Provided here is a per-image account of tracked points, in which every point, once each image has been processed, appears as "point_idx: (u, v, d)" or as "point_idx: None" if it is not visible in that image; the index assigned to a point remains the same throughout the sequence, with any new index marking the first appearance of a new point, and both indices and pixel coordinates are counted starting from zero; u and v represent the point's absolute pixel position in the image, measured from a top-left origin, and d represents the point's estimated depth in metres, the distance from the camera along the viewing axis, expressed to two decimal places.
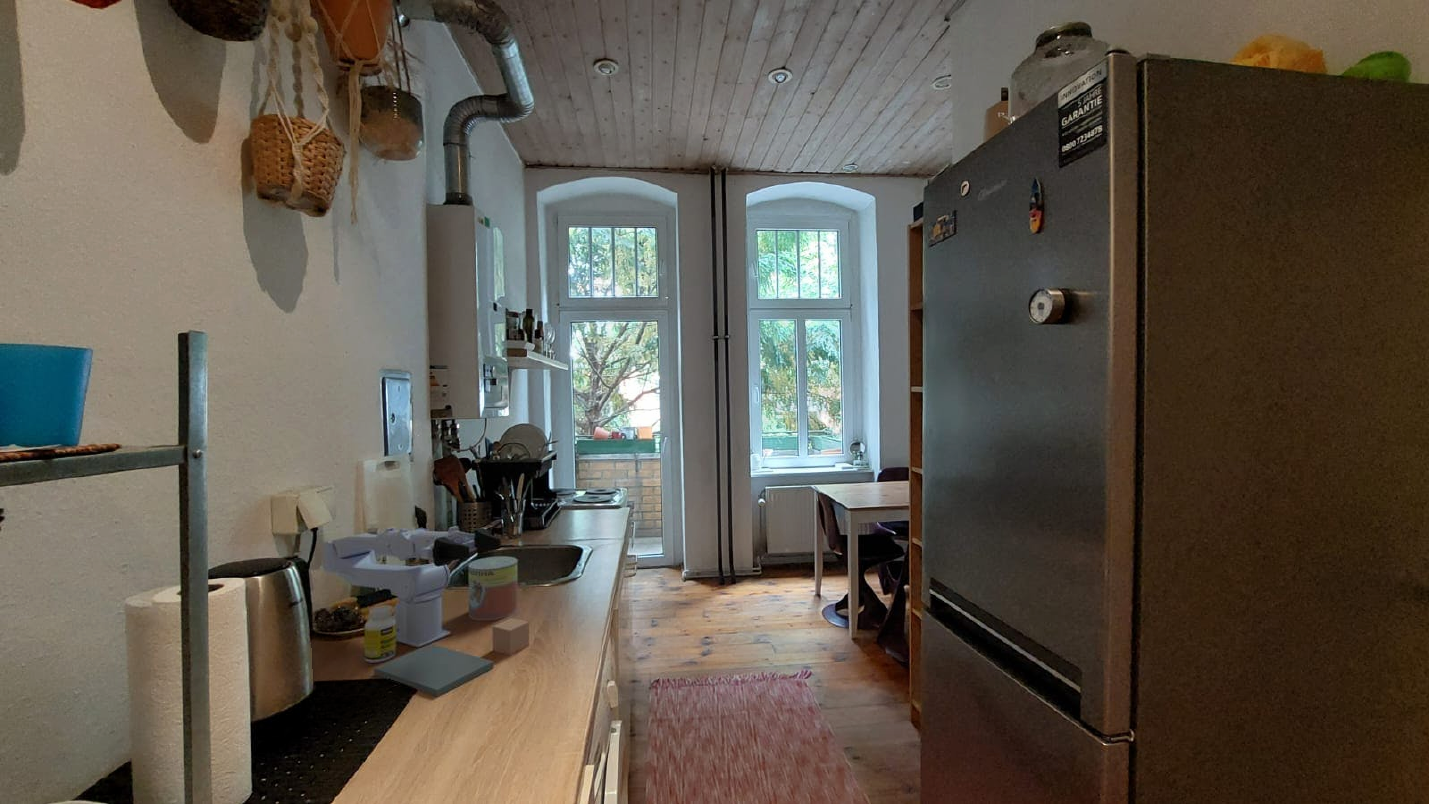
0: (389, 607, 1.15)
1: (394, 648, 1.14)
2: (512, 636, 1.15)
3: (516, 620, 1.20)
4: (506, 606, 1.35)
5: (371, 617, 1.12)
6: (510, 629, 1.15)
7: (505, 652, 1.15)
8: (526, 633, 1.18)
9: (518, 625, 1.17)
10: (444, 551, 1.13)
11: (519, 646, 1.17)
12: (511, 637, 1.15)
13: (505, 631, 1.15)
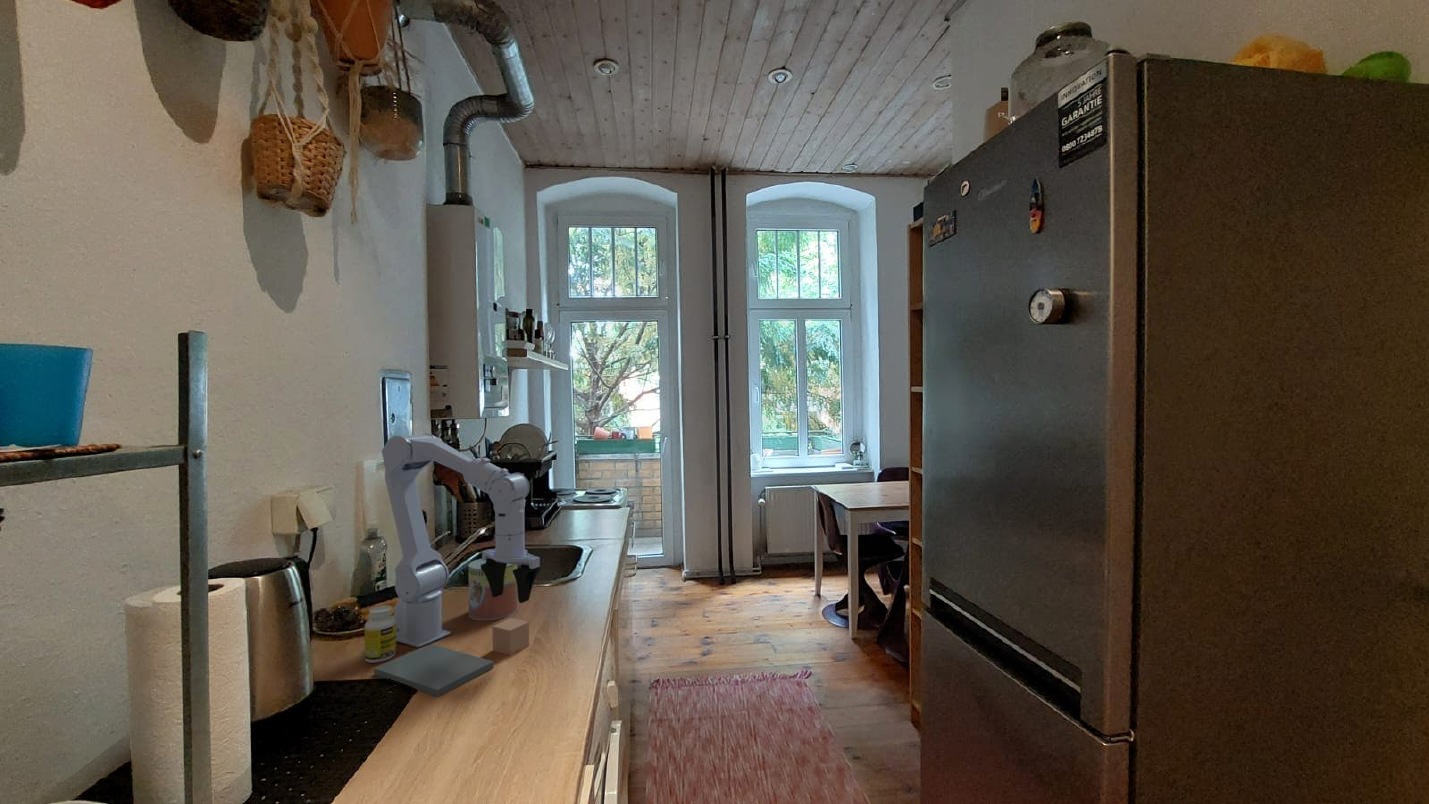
0: (389, 607, 1.15)
1: (393, 648, 1.14)
2: (512, 636, 1.15)
3: (516, 620, 1.20)
4: (506, 606, 1.35)
5: (371, 617, 1.12)
6: (510, 629, 1.15)
7: (505, 652, 1.15)
8: (526, 633, 1.18)
9: (518, 625, 1.17)
10: None
11: (519, 646, 1.17)
12: (511, 637, 1.15)
13: (505, 631, 1.15)
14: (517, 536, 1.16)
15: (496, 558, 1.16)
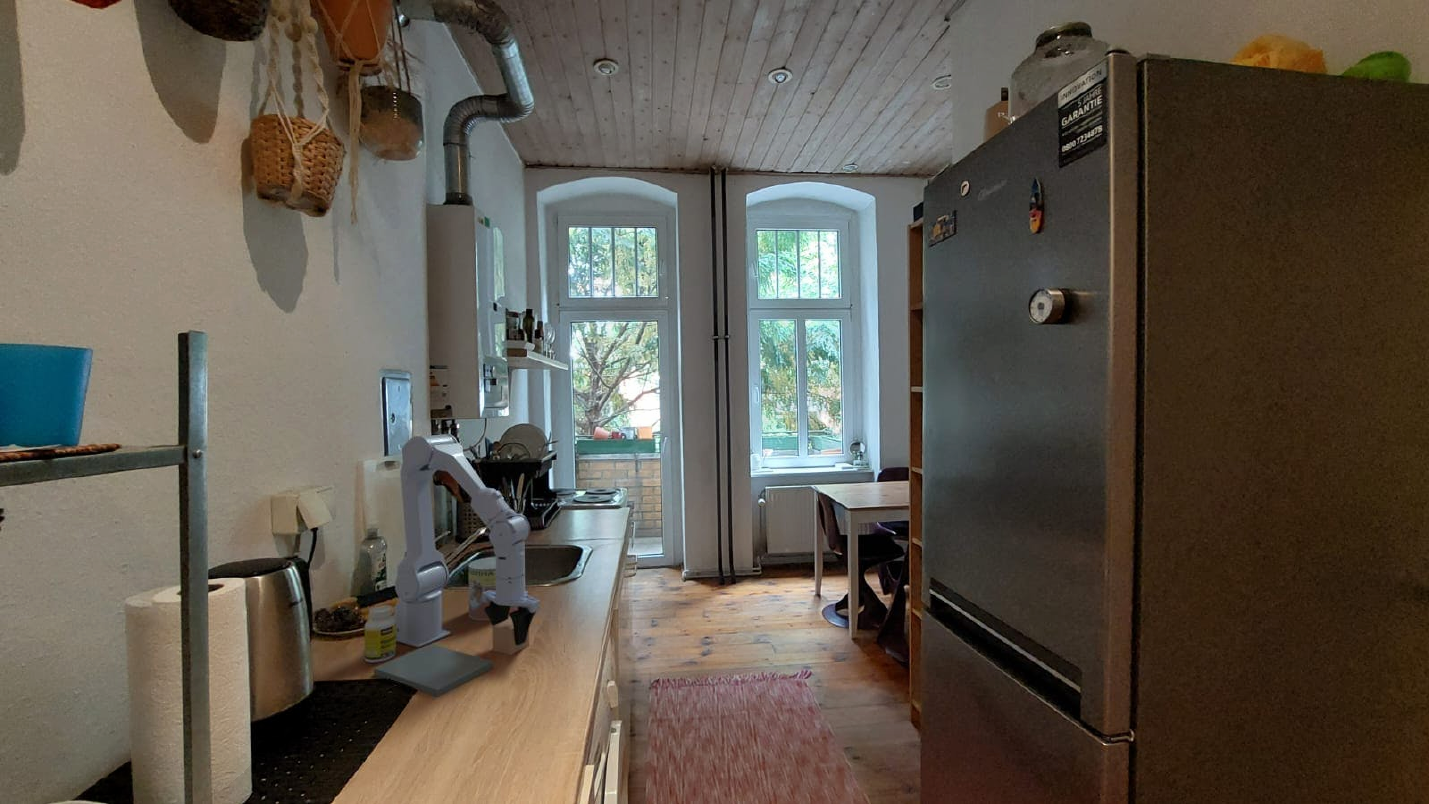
0: (389, 607, 1.15)
1: (393, 648, 1.14)
2: (512, 635, 1.15)
3: None
4: None
5: (371, 617, 1.12)
6: (510, 628, 1.15)
7: (505, 651, 1.15)
8: None
9: None
10: None
11: (519, 645, 1.17)
12: (511, 636, 1.15)
13: (505, 631, 1.15)
14: (517, 579, 1.16)
15: (496, 601, 1.16)
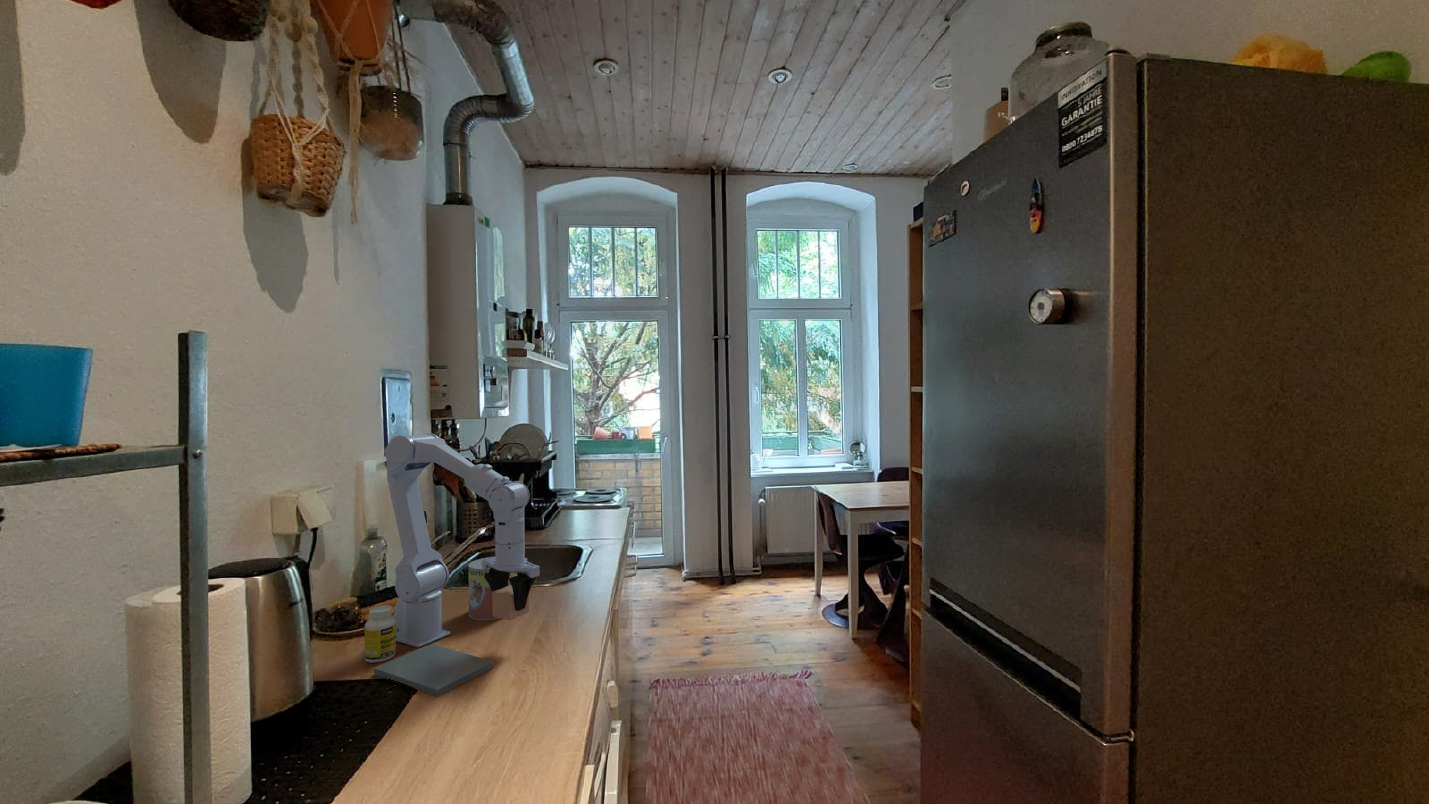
0: (389, 607, 1.15)
1: (393, 648, 1.14)
2: (512, 601, 1.15)
3: None
4: None
5: (371, 617, 1.12)
6: (510, 594, 1.15)
7: (505, 617, 1.15)
8: None
9: None
10: None
11: (519, 611, 1.17)
12: (511, 602, 1.15)
13: (504, 596, 1.15)
14: (517, 545, 1.16)
15: (496, 567, 1.16)
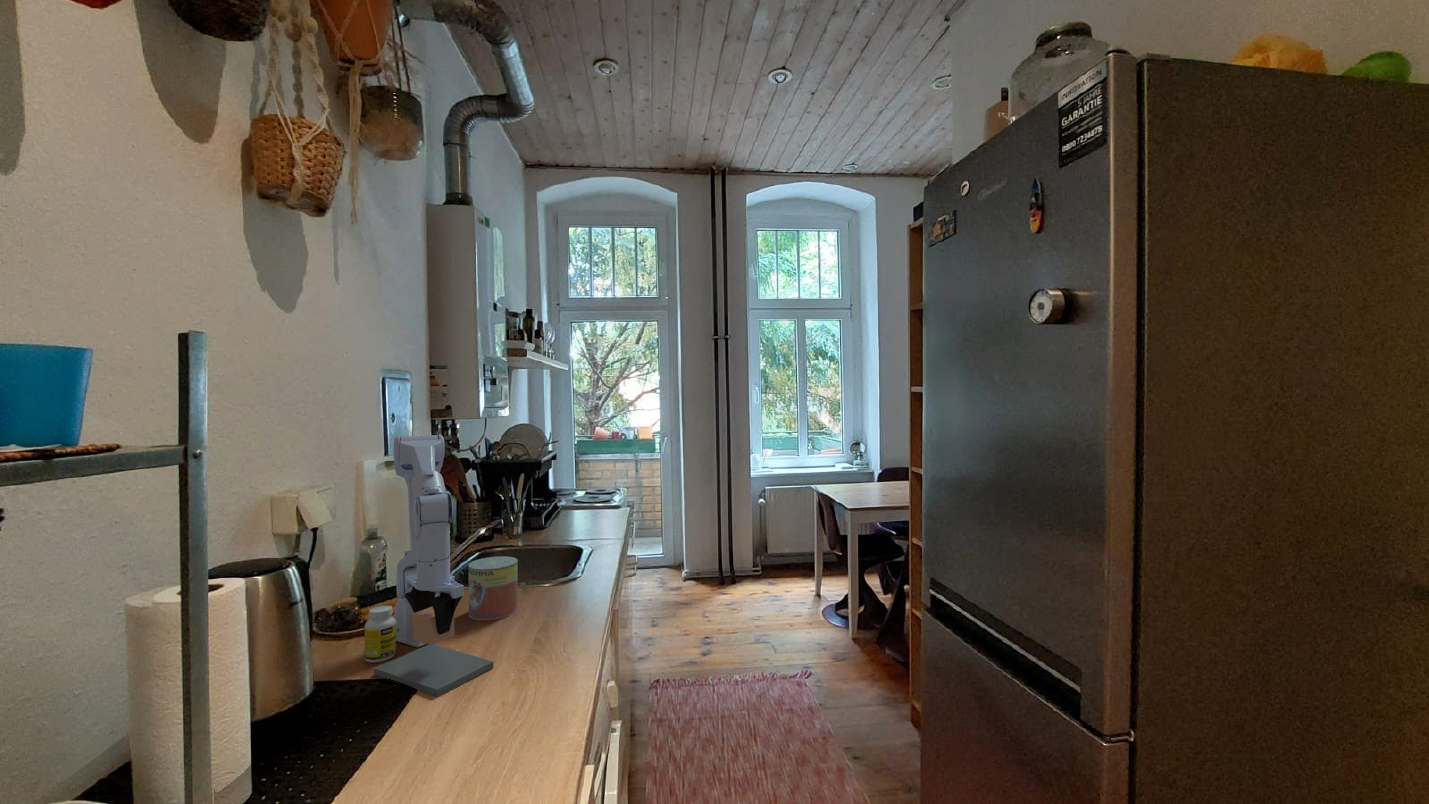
0: (389, 607, 1.15)
1: (394, 648, 1.14)
2: (433, 623, 1.05)
3: None
4: (506, 606, 1.35)
5: (371, 617, 1.12)
6: (431, 616, 1.05)
7: (425, 641, 1.05)
8: None
9: None
10: None
11: (442, 635, 1.07)
12: (432, 625, 1.05)
13: (425, 619, 1.05)
14: (440, 562, 1.06)
15: (416, 586, 1.06)
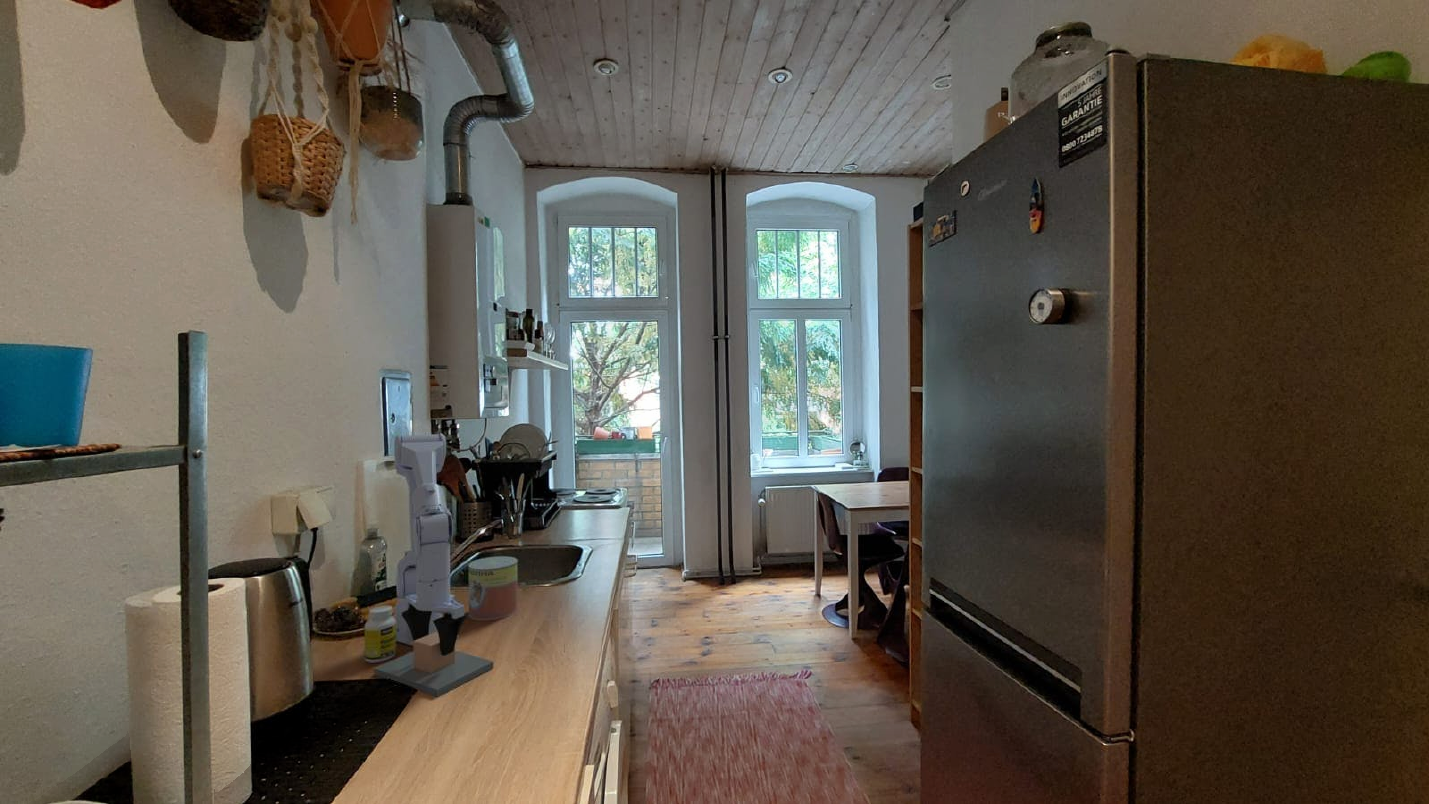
0: (389, 607, 1.15)
1: (393, 648, 1.14)
2: (434, 652, 1.05)
3: None
4: (506, 606, 1.35)
5: (371, 617, 1.12)
6: (431, 644, 1.05)
7: (426, 669, 1.05)
8: None
9: None
10: None
11: (442, 663, 1.07)
12: (433, 653, 1.05)
13: (426, 647, 1.05)
14: (440, 582, 1.06)
15: (417, 606, 1.06)
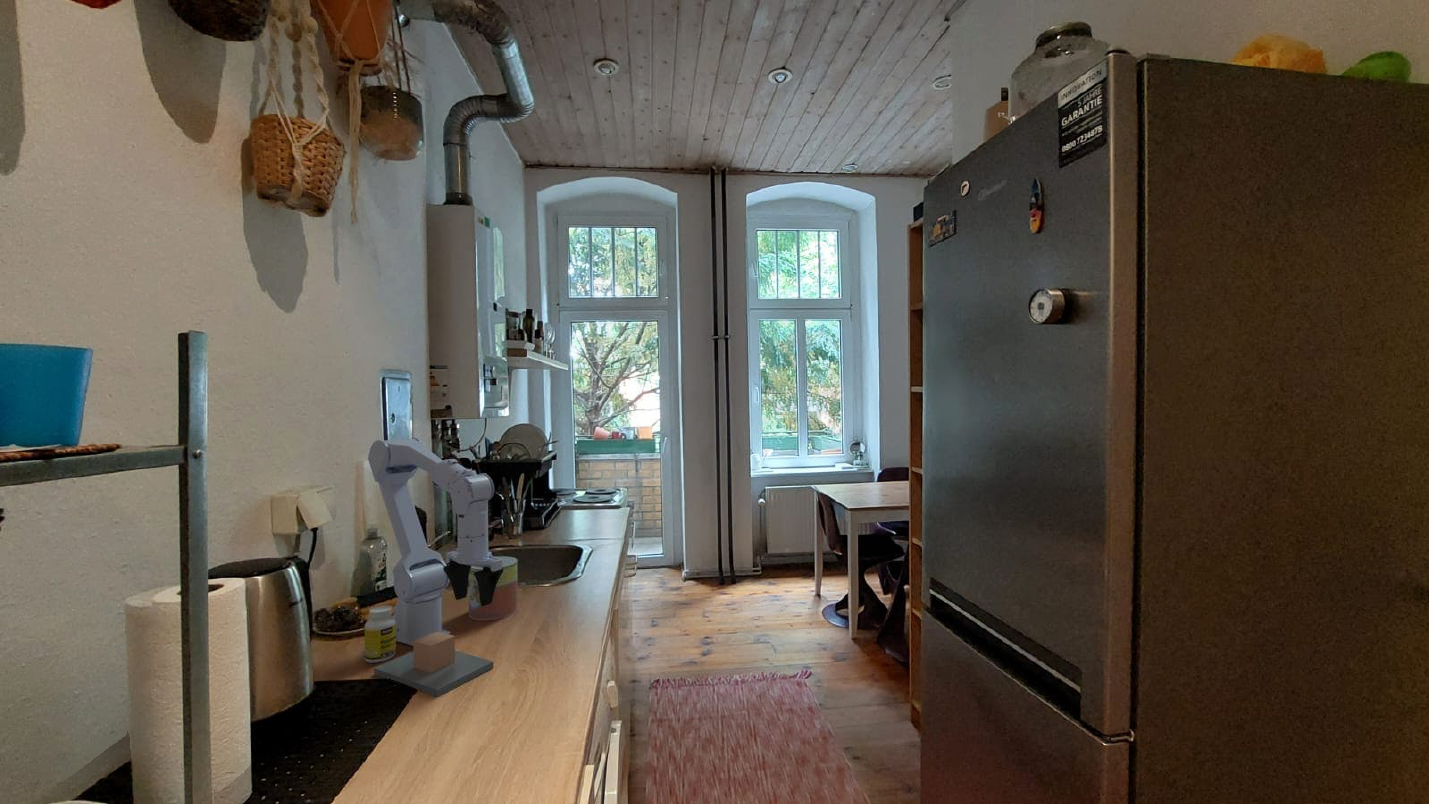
0: (389, 607, 1.15)
1: (393, 648, 1.14)
2: (434, 652, 1.05)
3: (441, 634, 1.10)
4: (506, 606, 1.35)
5: (371, 617, 1.12)
6: (431, 644, 1.05)
7: (426, 669, 1.05)
8: (451, 648, 1.08)
9: (441, 639, 1.07)
10: None
11: (442, 663, 1.07)
12: (433, 653, 1.05)
13: (426, 647, 1.05)
14: (479, 538, 1.14)
15: (458, 560, 1.14)
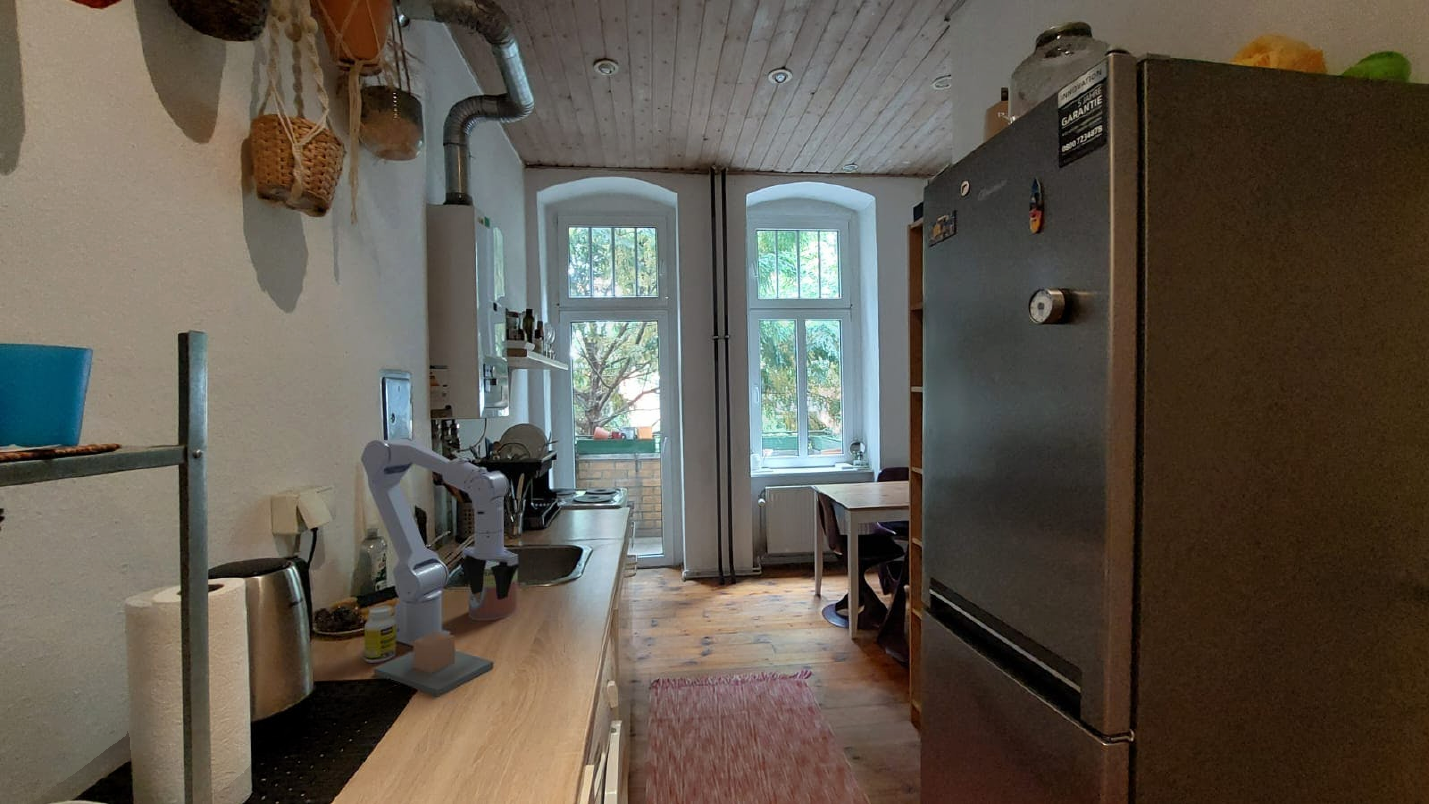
0: (389, 607, 1.15)
1: (393, 648, 1.14)
2: (434, 652, 1.05)
3: (441, 634, 1.10)
4: (506, 606, 1.35)
5: (371, 617, 1.12)
6: (431, 644, 1.05)
7: (426, 669, 1.05)
8: (451, 648, 1.08)
9: (441, 639, 1.07)
10: None
11: (442, 663, 1.07)
12: (433, 653, 1.05)
13: (426, 647, 1.05)
14: (496, 533, 1.18)
15: (475, 555, 1.17)
